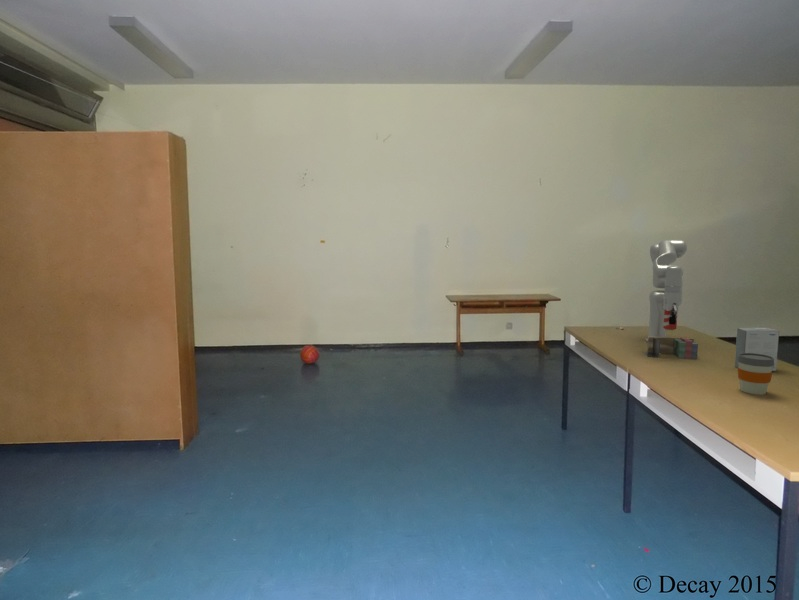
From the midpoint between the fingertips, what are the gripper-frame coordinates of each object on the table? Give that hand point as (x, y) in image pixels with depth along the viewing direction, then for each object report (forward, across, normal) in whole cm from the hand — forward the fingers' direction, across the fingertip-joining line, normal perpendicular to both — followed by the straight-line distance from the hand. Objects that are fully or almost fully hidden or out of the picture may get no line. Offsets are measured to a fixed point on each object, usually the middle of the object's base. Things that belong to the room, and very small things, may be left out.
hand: (670, 322), depth 269 cm
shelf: (+19, -4, +3) cm, 19 cm away
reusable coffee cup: (+19, +58, +16) cm, 63 cm away
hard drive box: (+19, +18, +34) cm, 43 cm away
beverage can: (+4, 0, 0) cm, 4 cm away
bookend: (+19, -3, -8) cm, 20 cm away
